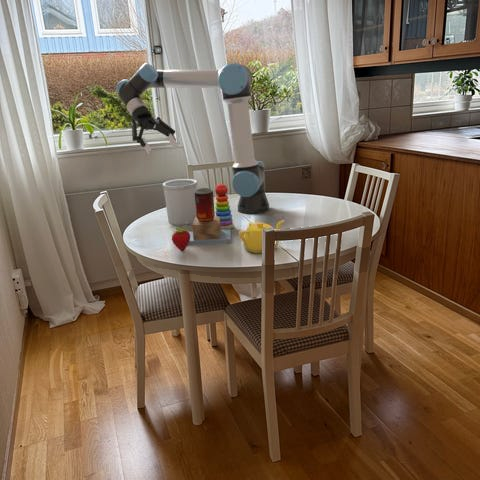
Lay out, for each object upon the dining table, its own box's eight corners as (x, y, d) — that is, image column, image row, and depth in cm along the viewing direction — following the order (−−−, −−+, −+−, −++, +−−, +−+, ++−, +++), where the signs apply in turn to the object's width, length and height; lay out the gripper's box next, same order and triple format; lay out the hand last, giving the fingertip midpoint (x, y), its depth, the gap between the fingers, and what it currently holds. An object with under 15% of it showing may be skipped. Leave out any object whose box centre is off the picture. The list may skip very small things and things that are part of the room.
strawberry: (169, 253, 157) (166, 227, 153) (183, 246, 163) (180, 221, 159) (181, 256, 154) (178, 229, 150) (195, 249, 159) (193, 223, 156)
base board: (231, 232, 175) (230, 229, 175) (230, 243, 164) (230, 239, 163) (186, 234, 176) (186, 231, 175) (183, 245, 164) (182, 241, 164)
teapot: (272, 257, 148) (272, 230, 145) (236, 253, 153) (235, 227, 150) (284, 244, 160) (284, 218, 157) (251, 241, 165) (250, 216, 162)
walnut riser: (221, 230, 174) (220, 216, 172) (219, 238, 164) (218, 223, 162) (196, 231, 174) (194, 217, 172) (193, 240, 165) (192, 225, 163)
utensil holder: (194, 225, 187) (190, 185, 181) (162, 225, 190) (157, 186, 184) (203, 216, 201) (200, 178, 195) (173, 215, 204) (169, 178, 198)
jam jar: (199, 217, 171) (197, 187, 167) (217, 218, 170) (215, 187, 166) (194, 223, 165) (191, 191, 161) (212, 223, 163) (210, 191, 159)
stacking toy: (236, 225, 184) (234, 182, 178) (229, 231, 177) (227, 186, 171) (219, 224, 187) (216, 181, 181) (212, 230, 180) (208, 186, 173)
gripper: (160, 115, 195) (184, 151, 189) (110, 120, 178) (134, 160, 173) (166, 103, 189) (190, 139, 184) (115, 107, 173) (140, 147, 168)
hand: (163, 149), depth 178 cm, fingers open, 13 cm apart
